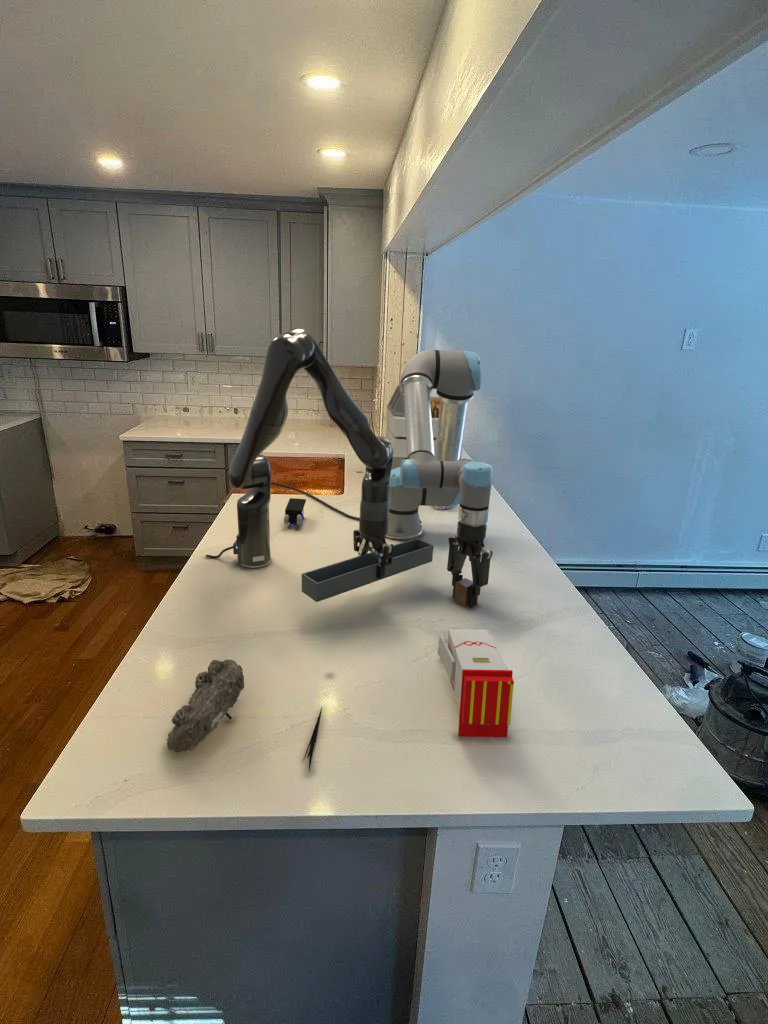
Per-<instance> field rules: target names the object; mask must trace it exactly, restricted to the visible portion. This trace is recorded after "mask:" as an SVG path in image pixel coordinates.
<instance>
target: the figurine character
mask: <svg viewBox="0 0 768 1024" xmlns="http://www.w3.org/2000/svg"><path fill="white" fill-rule="evenodd" d="M306 502H307V499H305V498H294V497H290V498H289V499H288V502H287V504H286V507H285V508H284V518H283V524H284V525H287V528H288V529H291V526H296V528H295V529H299V527H300V525H302V524H303V521H304V520H305V519H306V518H305V515H304V514H305V510H304V508H305V505H306Z"/></svg>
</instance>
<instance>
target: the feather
mask: <svg viewBox="0 0 768 1024" xmlns="http://www.w3.org/2000/svg"><path fill="white" fill-rule="evenodd" d="M329 675H330V676H331V675H332V674H331V673H330V674H329ZM322 710H323V707H321V708H320V710H319V713H318V716H317V719H316V723H315V725H314V728H313V731H312V733H311V737H310V739H309V742H308V745H307V748H306V751H305V754H304V757H303V760H302V763H301V767H302V765H303V763H304V761H305V758H308V759H309V760H308V762H307V763H308V764H307V766H308V771H310V770H311V766H312V765H311V764H312V760H313V757H315V756H314V755H315V751H316V749H315V746H317V739H318V733H319V729H320V722H321V717H322V712H323V711H322ZM313 754H314V755H313ZM306 755H307V757H306Z"/></svg>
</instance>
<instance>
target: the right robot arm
mask: <svg viewBox="0 0 768 1024" xmlns="http://www.w3.org/2000/svg"><path fill="white" fill-rule="evenodd" d="M399 379H400V381H399V385H400V389H401V392H402V394H403V395H404V402H405V423H406V445H407V460H403V461H402V462H401V467H398V468H395V469H392V470H391V474H390V480H389V521H388V532H387V534H386V535H385V538H387V539H389V540H395V541H409V540H412V539H416V538H420V537H421V536H422V535H423V525H422V524H423V523H422V520H421V518H420V515H419V507H420V506H421V507H422V506H424V507H425V506H427V507H434V506H445V507H448V506H452V507H457V506H458V505H459V507H458V517H457V519H458V521H457V528H456V535H453V536H451V537H448V553H447V554H448V557H447V565H446V571H447V572H450V573H451V575H452V576H451V577H452V578H451V586H452V595H451V598H452V599H453V600H454V594H455V584H456V581H459V580H462V579H464V575H463V567H464V565H465V562H466V559H467V557H468V561H469V562H470V568H471V579H472V581H473V584H472V585H470V594H469V604H468V606H467V607H468V608H473V607H475V606H477V605H478V599H479V597H480V596H481V590H482V587H484V586H486V585H488V584H489V578H490V567H491V559H492V557H493V554H494V552H493V550H491V549H490V550H488V549H487V548H486V546H485V539H486V536H487V529H488V528H487V527H488V525H487V523H488V520H489V511H490V502H491V501H490V500H491V499H490V498H491V492H492V491H491V490H492V483H493V478H494V477H493V466H492V465H491V464H488V463H486V462H482V461H475V460H474V459H471V458H469V457H461V459H459V458H460V451H461V444H462V445H463V443H462V441H463V438H464V432H463V430H464V429H465V423H466V415H467V408H468V403H469V401H470V400H472V399H474V393H475V392H479V391H480V390H481V387H482V362H481V359H480V356H479V354H478V353H476V352H475V351H471V350H470V351H469V350H464V349H462V350H461V349H459V350H458V349H457V350H456V349H455V350H453V349H434V348H433V349H432V348H431V349H424V350H421V351H420V352H418V353H416V354H414V355H413V356H412V357H411V358H410V359H408V362H407V363H406V364H405V366H404V367H403V369H402V372H401V375H400V378H399ZM433 390H436V395H437V397H440V399H441V400H440V408H439V417H438V425H437V434H436V443H435V451H434V443H433V430H432V417H431V404H430V397H431V393H432V391H433ZM464 431H465V430H464ZM462 437H463V438H462ZM271 485H274V486H277V487H282V488H286V489H289V490H292V491H296V492H298V493H301V494H303V495H305V496H308V497H310V498H312V499H314V500H316V501H317V502H319V503H321V504H323V505H324V506H326V507H328V508H330V509H331V510H334V511H335V512H336V513H339V514H341V515H343V516H345V517H347V518H349V519H352V520H357V521H359V520H360V517H359V516H358V517H357V516H353V515H349V514H348V513H346V512H344V511H342V510H340V509H338V508H336V507H334V506H332V505H330V504H328V503H327V502H325V501H323V500H322V499H320V498H318V497H317V496H314V495H312V494H311V493H308V492H306V491H304V490H301V489H299V488H295V487H293V486H289V485H285V484H282V483H277V482H273V481H271Z"/></svg>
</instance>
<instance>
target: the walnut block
mask: <svg viewBox="0 0 768 1024" xmlns="http://www.w3.org/2000/svg"><path fill="white" fill-rule="evenodd" d="M472 584H473V580H471V579H468V578H467V577H463V579H462V580H459V581H456V584H455V594H454V599H453V602H454V603H456V604H457V605H460V606H462V607H464V608H466V607H468V604H469V594H470V585H472Z"/></svg>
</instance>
